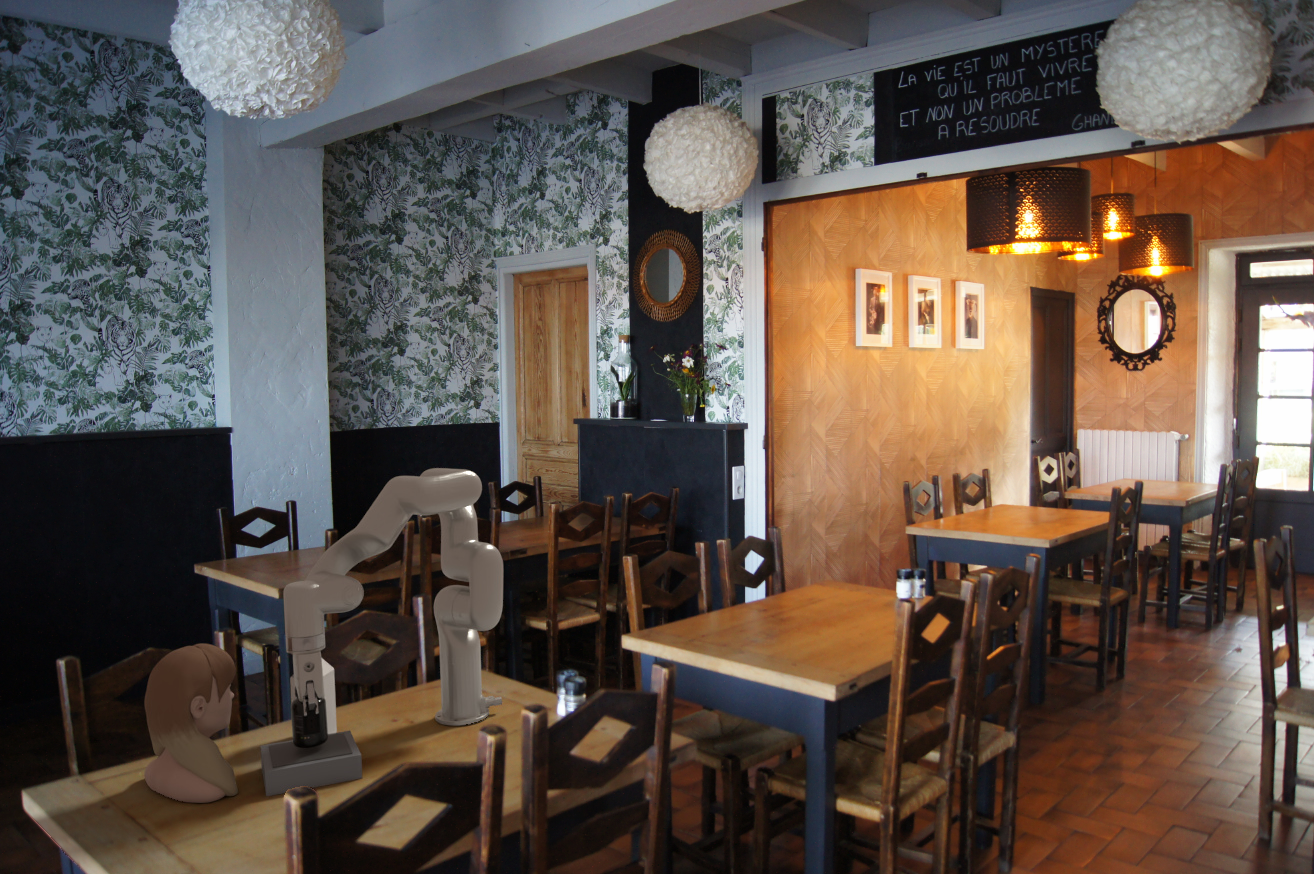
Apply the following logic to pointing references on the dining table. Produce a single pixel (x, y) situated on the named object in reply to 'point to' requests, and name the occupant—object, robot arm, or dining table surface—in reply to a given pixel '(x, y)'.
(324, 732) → the supplement bottle
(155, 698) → the head mannequin
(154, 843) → the dining table surface
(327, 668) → the milk carton
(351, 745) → the display riser
